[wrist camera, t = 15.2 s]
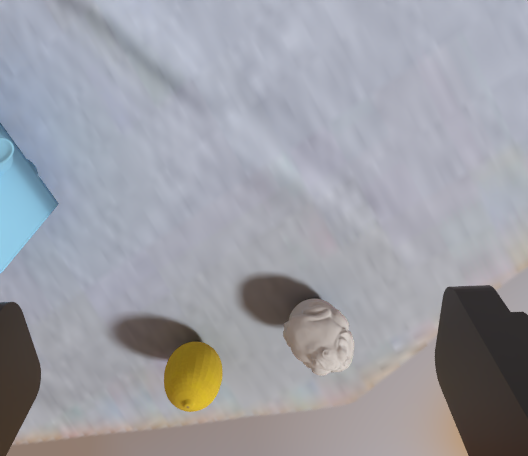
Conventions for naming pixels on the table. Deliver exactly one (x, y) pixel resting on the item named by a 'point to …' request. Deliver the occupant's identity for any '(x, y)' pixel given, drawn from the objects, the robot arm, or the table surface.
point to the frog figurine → (319, 336)
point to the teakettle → (19, 200)
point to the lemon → (193, 376)
